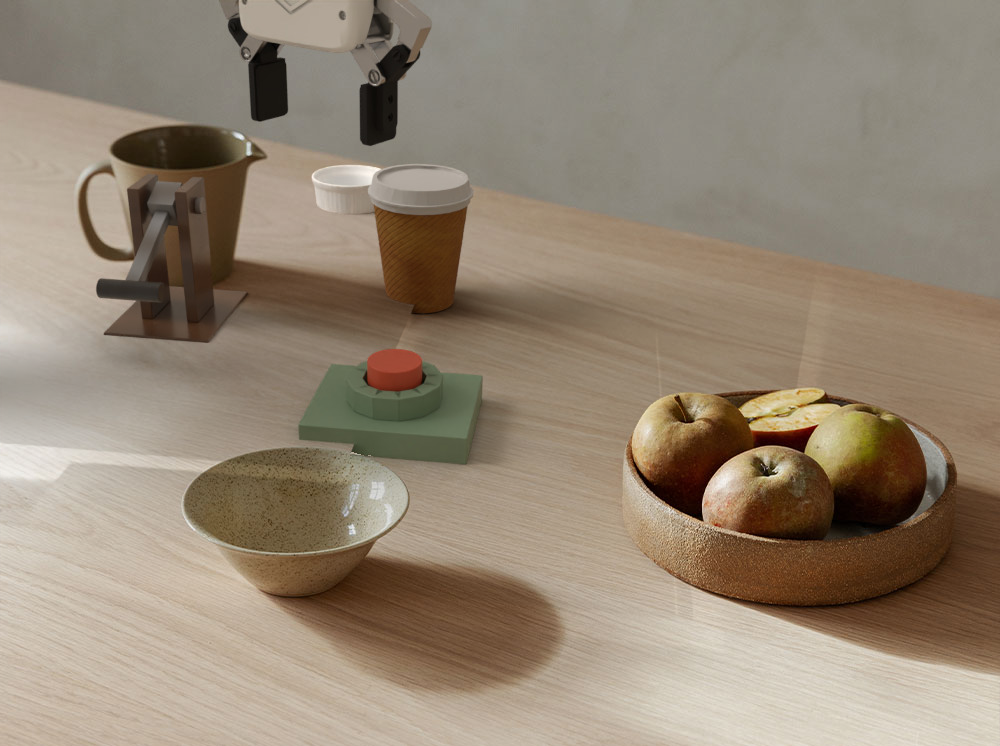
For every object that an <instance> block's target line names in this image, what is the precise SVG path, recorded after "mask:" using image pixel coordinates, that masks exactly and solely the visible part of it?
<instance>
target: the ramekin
mask: <svg viewBox="0 0 1000 746" xmlns="http://www.w3.org/2000/svg"><path fill="white" fill-rule="evenodd" d="M381 169H382V168H379V167H375V166H371V165H362V164H341V165H340V164H339V165H332V166H327V167H322V168H319V169H317V170H315V171H314V172H312V174H311V181H312V184H313V188H314V195H315V202H316V206H317V207H318V208H319V209H321V210H323V211H325V212H329V213H334V214H340V215H364V214H369V213H371V214H372V213H375V212H374V204H373V203H372V201H371V197H370V196H369V194H368V188H369V186H370V185H371V183H372V178H373V175H374V174H375V173H376V172H377V171H379V170H381Z"/></svg>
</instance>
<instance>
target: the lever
mask: <svg viewBox="0 0 1000 746" xmlns="http://www.w3.org/2000/svg"><path fill="white" fill-rule="evenodd" d="M182 185H184V183H182V182H178V181H177V182H175V181H161V180H158V181H157V182H156V184H155V186H154V189H153V191H152V193H151V196H150V198H149V200H148V202H147V205H148V208H149V211H150V214H151V217H152V220H151V222H150V224H149V227H148V229H147V231H146V234H145V236H144V238H143V240H142V243H141V245H140V247H139V250H138V252H137V254H136V257H135V256H134V259H133V262H132V263H131V266H130V269H129V270H128V274H127V275H126V277H125V279H118V278H117V279H116V278H104V277H102V278H101V277H100V278H99V279H98V280H97V282H96V287H95V291H96V296H97V297H98V298H99V299H109V300H120V301H121V300H122V301H134V302H136V301H147V302H160V303H161V302H163V301H164V298H165V292H166V291H165V285H164V284H163V283H160V282H146V281H145V280H146V278H147V275H148V273H149V270H150V268H151V266H152V263H153V261H154V258H155V256H156V254H157V251H158V249H159V247H160V244H161V242H162V239H163V237H164V238H165V235H166V232H167V230H168V227H169V226H172V227H178V223H177V213H176V203H175V191H176V190H177V189H179V188H180V187H181V186H182Z"/></svg>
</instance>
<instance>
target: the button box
mask: <svg viewBox="0 0 1000 746" xmlns="http://www.w3.org/2000/svg"><path fill="white" fill-rule="evenodd" d="M483 380H484V376H483V375H480V374H469V373H456V372H443V371H440V370H439V369H438V367H437V366H436V365H435V364H432V363H429V362H427V361H424V360H422V383H421V385H420V386H418V387H416V388H414V389H411V390H405V391H399V392H396V391H383V390H378V389H375V388H373V387H370V386H369V384H368V381H367V360H365V361H363V362H361V363H359V364H357V365H351V364H340V363H339V364H338V363H331V364H330V365H329V367H328V369H327V371H326V373H325V375H324V377H323V378H322V379H321V382H320V384H319V386H318V388H317V389H316V391H315V393H314V395H313V397H312V398H311V400H310V402H309V404H308V406H307V408H306V410H305V411H304V414H303V415H302V417H301V418H300V421H299V423H298V424H297V425H298V427H297V428H298V440H300V441H311V442H323V443H335V444H347V445H348V444H349V445H353V446H352V448H351V451H350V453H351V452H354V453H357V454H361V455H364V456H363V457H370V456H368V455H371V456H373V457H372V458H381V459H382V458H383V459H395V460H408V461H421V462H431V463H432V462H433V463H442V464H443V463H444V464H455V465H456V464H457V465H467V464H468V460H469V455H470V452H471V447H472V442H473V438H474V435H475V429H476V427H477V422H478V417H479V414H480V409H481V406H482V402H483V384H484V383H483V382H484V381H483ZM370 458H371V457H370Z"/></svg>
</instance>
